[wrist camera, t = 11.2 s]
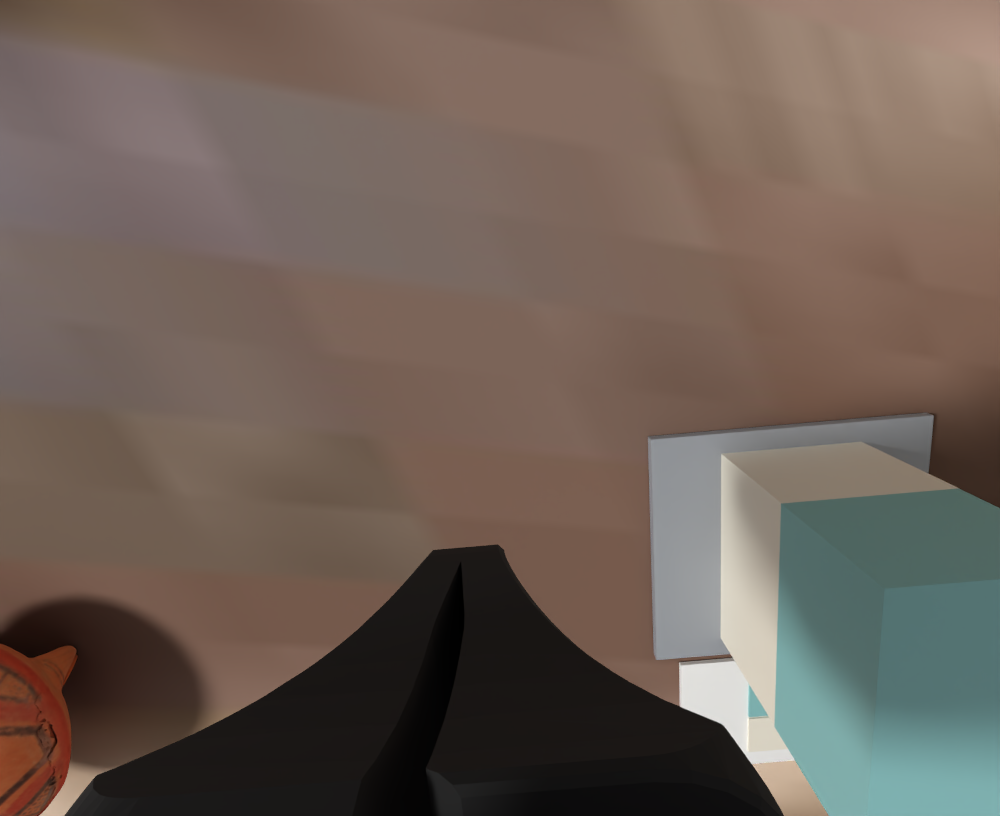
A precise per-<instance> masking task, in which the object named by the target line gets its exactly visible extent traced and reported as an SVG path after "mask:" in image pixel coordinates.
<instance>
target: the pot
mask: <svg viewBox="0 0 1000 816" xmlns="http://www.w3.org/2000/svg"><path fill="white" fill-rule="evenodd" d="M76 651H77V650H76V649H75V648H74V647H73V646H70V645H69V646H64V647H60V648H57V649H55V650H53V651H51V652H48V653H46V654H43V655H40V656H36V657H34V658H28V657H26V656H25V655H23V654H21V653H20V652H18V651H16V650H14V649H12V648H10V647H8V646H6V645H3V644H0V816H39V815H40V814H41V813H42V812H43V811H44V810H45V809H46V808H47V807H48V805H49V804H50V803H51V802H52V800H53V799H54V798H55V796H56V795H57V794H58V792H59V791H60V789H61V788H62V786H63V784H64V782H65V780H66V777H67V773H68V768H69V763H70V756H71V724H70V718H69V712H68V708H67V705H66V702H65V699H64V697H63V695H62V686H63V685H64V684H65V682H66V680H67V679H68V677H69V675H70V673H71V671H72V669H73V667H74V665H75V663H76V660H77V657H78V656H77V655H76Z"/></svg>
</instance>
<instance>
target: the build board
mask: <svg viewBox="0 0 1000 816" xmlns="http://www.w3.org/2000/svg"><path fill="white" fill-rule="evenodd" d="M933 419H934V415H931V414H928V413H915V414H903V415H892V416H880V417H868V418H857V419H845V420H834V421H822V422H810V423H799V424H787V425H775V426H764V427H752V428H740V429H729V430H717V431H706V432H694V433H682V434H671V435H659V436H648V457H649V494H650V531H651V568H652V604H653V641H654V655H655V657H656V660H662V659H674V658H686V657H698V656H710V655H722V654H730V652H729V651H728V649H727V648H726V646H725V644H724V643H723V641H722V639H721V454H724V453H736V452H747V451H759V450H771V449H782V448H794V447H806V446H817V445H829V444H841V443H852V442H863V443H865V444H867V445H869V446H872V447H874V448H876V449H878V450H880V451H882V452H884V453H886V454H888V455H890V456H893V457H895V458H897V459H899V460H901V461H903V462H905V463H907V464H909V465H911V466H913V467H916V468H918V469H920V470H922V471H924V472H926V473H928V474H929V463H930V452H931V441H932V430H933Z"/></svg>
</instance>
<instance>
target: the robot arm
mask: <svg viewBox="0 0 1000 816" xmlns="http://www.w3.org/2000/svg"><path fill="white" fill-rule="evenodd" d="M65 816H784V815H783V813H782V811H781V809H780V807H779V806H778V804H777V802H776V801H775V799H774V797H773V796H772V794H771V792H770V790H769V789H768V787H767V786H766V784H765V783H764V781H763V780H762V778H761V777H760V776H759V774H758V773H757V771H756V770H755V768H754V767H753V765H752V764H751V762H750V761H749V760H748V758H747V757H746V755H745V754H744V753H743V751H742V750H741V748H740V747H739V746H738V744H737V743H736V741H735V740H734V739H733V737H732V736H731V735H730V733H729V732H728V731H727V729H726V728H725V727H724V726H723V725H722V724H721V723H718V722H716V721H713V720H711V719H709V718H706V717H704V716H701V715H699V714H696V713H694V712H692V711H689V710H687V709H684V708H682V707H679V706H677V705H675V704H672V703H670V702H667V701H665V700H663V699H661V698H659V697H657V696H655V695H653V694H651V693H649V692H647V691H645V690H643V689H642V688H640V687H638V686H636V685H634V684H632V683H630V682H628V681H627V680H625V679H623V678H622V677H620V676H618V675H617V674H615V673H613V672H612V671H611V670H609V669H608V668H606V667H605V666H603V665H602V664H600V663H599V662H597V661H596V660H594V659H593V658H592V657H590V656H589V655H587V654H586V653H585V652H584V651H582V650H581V649H580V648H579V647H577V646H576V645H575V644H574V643H573V642H572V641H571V640H570V639H569V638H567V637H566V636H565V635H564V634H563V633H562V632H561V631H560V630H559V629H558V628H557V627H556V626H555V625H554V624H553V623H552V622H551V621H550V620H549V619H548V617H547V616H546V615H545V614H544V613H543V612H542V611H541V609H540V608H539V607H538V606H537V605H536V603H535V602H534V601H533V600H532V598H531V597H530V596H529V594H528V593H527V592H526V590H525V589H524V587H523V586H522V585H521V583H520V582H519V580H518V579H517V577H516V576H515V574H514V572H513V570H512V569H511V567H510V565H509V563H508V561H507V559H506V556H505V553H504V550H503V549H502V548H501V547H500V546H499V545H488V546H476V547H465V548H453V549H441V550H433V551H432V552H431V553H430V554H429V555H428V557H427V558H426V559H425V560H424V561H423V562H422V563H421V564H420V566H419V567H418V568H417V569H416V570H415V571H414V573H413V574H412V575H411V576H410V577H409V578H408V579H407V581H406V582H405V583H404V584H403V585H402V586H401V587H400V588H399V589H398V590H397V592H396V593H395V594H394V595H393V596H392V597H391V598H390V599H389V600H388V601H387V602H386V603H385V604H384V605H383V606H382V607H381V608H380V609H379V610H378V611H377V612H376V613H375V614H374V615H373V616H372V617H370V618H369V619H368V620H367V621H366V622H365V623H364V624H363V625H362V626H361V627H360V628H359V629H358V630H357V631H356V632H354V633H353V634H352V635H351V636H350V637H349V638H347V639H346V640H345V641H344V642H342V643H341V644H340V645H339V646H337V647H336V648H335V649H334V650H332V651H331V652H330V653H328V654H327V655H326V656H324V657H323V658H322V659H320V660H319V661H318V662H316V663H315V664H314V665H312V666H311V667H309V668H308V669H306V670H305V671H303V672H302V673H300V674H299V675H297V676H295V677H294V678H292V679H291V680H289V681H288V682H286V683H284V684H283V685H281V686H280V687H278V688H277V689H275V690H274V691H272V692H270V693H269V694H267V695H266V696H264V697H263V698H261V699H259V700H257V701H256V702H254V703H252V704H250V705H248V706H247V707H245V708H243V709H241V710H239V711H238V712H236V713H234V714H232V715H230V716H228V717H226V718H224V719H222V720H221V721H219V722H217V723H215V724H213V725H211V726H209V727H207V728H205V729H203V730H201V731H199V732H197V733H195V734H193V735H190V736H188V737H186V738H184V739H182V740H180V741H178V742H175V743H173V744H171V745H168V746H166V747H164V748H161V749H159V750H157V751H154V752H152V753H150V754H147V755H145V756H143V757H140V758H138V759H136V760H133V761H131V762H129V763H126V764H124V765H122V766H119V767H117V768H115V769H112V770H109V771H107V772H104V773H102V774H99V775H97V776H96V777H95V778H94V779H93V780H92V781H91V783H90V784H89V785H88V786H87V787H86V789H85V790H84V791H83V793H82V794H81V795H80V796H79V798H78V799H77V800H76V801H75V803H74V804H73V805H72V807H71V808H70V809H69V810H68V812H67V813H66V814H65Z"/></svg>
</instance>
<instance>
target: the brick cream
mask: <svg viewBox="0 0 1000 816" xmlns="http://www.w3.org/2000/svg"><path fill="white" fill-rule="evenodd" d="M946 489H958V488H957V487H955V486H953V485H951V484H949V483H947V482H945V481H943V480H941V479H939V478H937V477H934V476H932V475H930V474H928V473H926V472H924V471H922V470H920V469H918V468H916V467H913V466H911V465H909V464H907V463H905V462H903V461H901V460H899V459H897V458H895V457H893V456H890V455H888V454H886V453H884V452H882V451H880V450H878V449H876V448H874V447H872V446H869V445H867V444H865V443H863V442H852V443H841V444H829V445H817V446H806V447H794V448H782V449H771V450H759V451H747V452H736V453H724V454H721V639H722V641H723V643H724V644H725V646H726V648H727V649H728V651H729V652H730V654H731V656H732V657H733V659H734V661H735V662H736V664H737V665H738V667H739V669H740V670H741V672H742V674H743V675H744V677H745V678H746V680H747V682H748V683H749V685H750V687H751V688H752V690H753V692H754V693H755V695H756V696H757V698H758V700H759V701H760V703H761V705H762V706H763V708H764V709H765V711H766V713H767V714H768V716H769V718H770V719H771V721H772V722H773V724H775V690H776V656H777V622H778V589H779V555H780V521H781V503H793V502H805V501H817V500H828V499H840V498H852V497H864V496H875V495H887V494H899V493H911V492H923V491H934V490H946Z"/></svg>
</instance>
